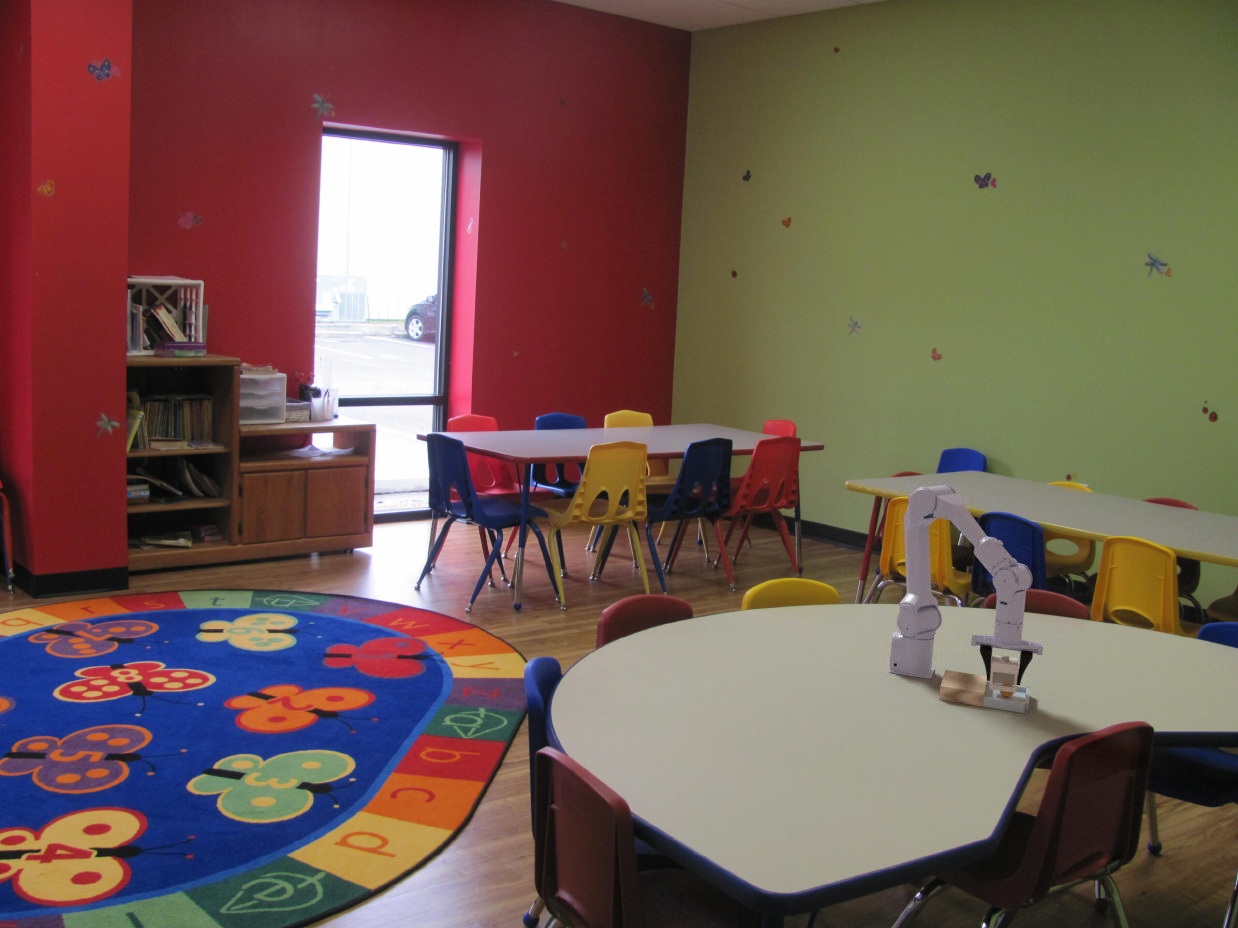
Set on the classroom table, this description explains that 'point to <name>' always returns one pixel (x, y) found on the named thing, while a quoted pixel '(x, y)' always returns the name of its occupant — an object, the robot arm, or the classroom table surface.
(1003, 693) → the ball
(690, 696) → the classroom table surface
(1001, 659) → the small drawer with knob
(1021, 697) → the tray
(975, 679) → the board
